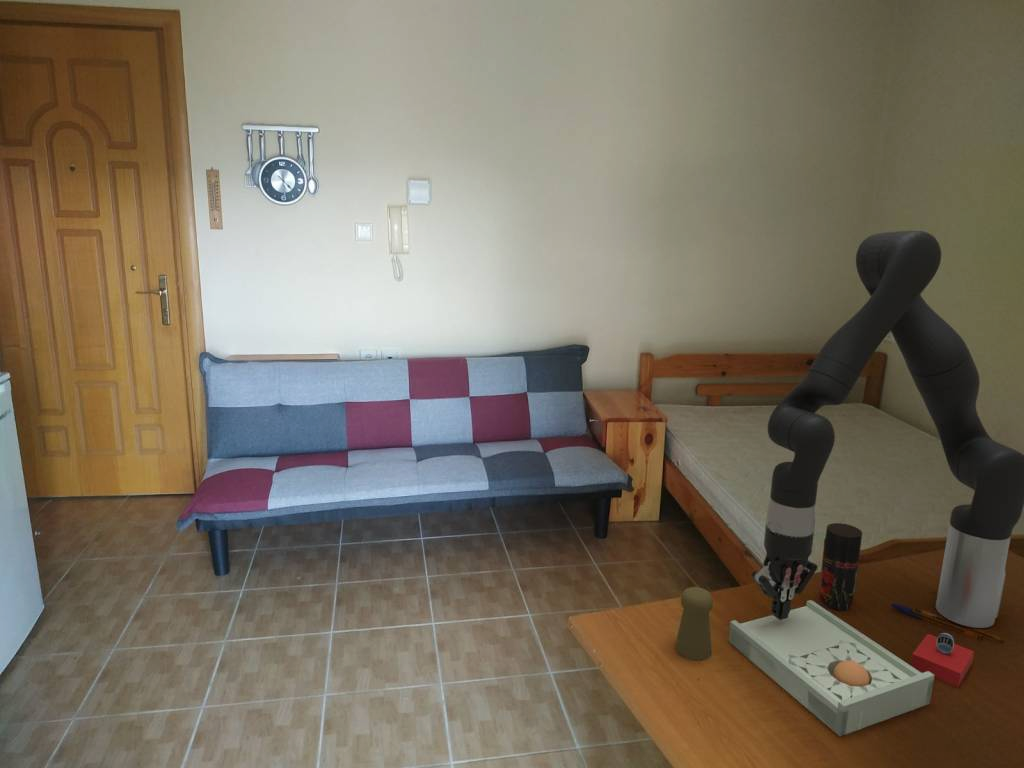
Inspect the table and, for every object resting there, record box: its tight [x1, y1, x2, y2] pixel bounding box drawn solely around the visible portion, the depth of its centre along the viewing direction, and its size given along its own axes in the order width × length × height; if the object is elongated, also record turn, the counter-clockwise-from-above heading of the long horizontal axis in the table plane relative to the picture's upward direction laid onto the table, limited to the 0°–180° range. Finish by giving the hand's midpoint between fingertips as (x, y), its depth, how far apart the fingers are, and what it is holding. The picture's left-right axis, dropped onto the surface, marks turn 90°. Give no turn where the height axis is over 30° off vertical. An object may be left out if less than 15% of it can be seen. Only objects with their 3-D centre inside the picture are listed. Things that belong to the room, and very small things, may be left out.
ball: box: [833, 660, 869, 687], centre depth 107 cm, size 5×5×5 cm
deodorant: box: [817, 522, 863, 612], centre depth 130 cm, size 6×6×15 cm
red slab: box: [910, 632, 975, 688], centre depth 113 cm, size 8×7×6 cm
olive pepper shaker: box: [674, 586, 714, 662], centre depth 116 cm, size 6×6×11 cm
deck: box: [728, 599, 935, 737], centre depth 112 cm, size 18×24×5 cm
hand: (779, 616), depth 120 cm, fingers closed
